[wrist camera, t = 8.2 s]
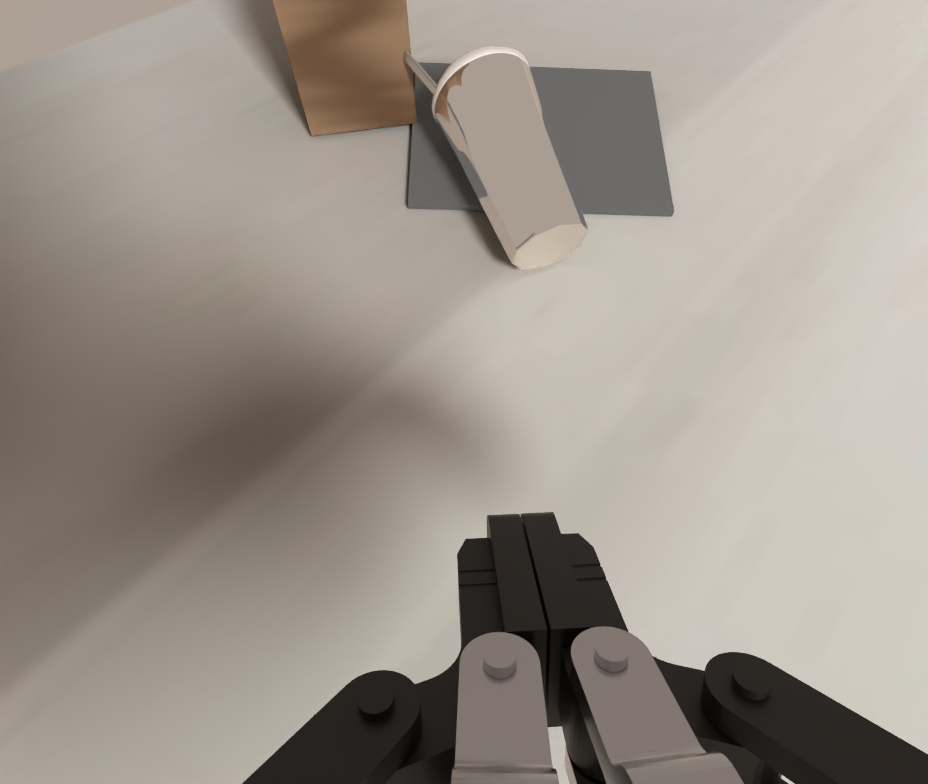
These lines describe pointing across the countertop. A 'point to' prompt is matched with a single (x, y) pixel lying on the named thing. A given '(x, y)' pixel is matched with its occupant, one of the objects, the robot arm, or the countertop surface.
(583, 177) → the mat
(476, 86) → the milkshake
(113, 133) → the countertop surface
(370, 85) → the walnut block
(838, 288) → the countertop surface
